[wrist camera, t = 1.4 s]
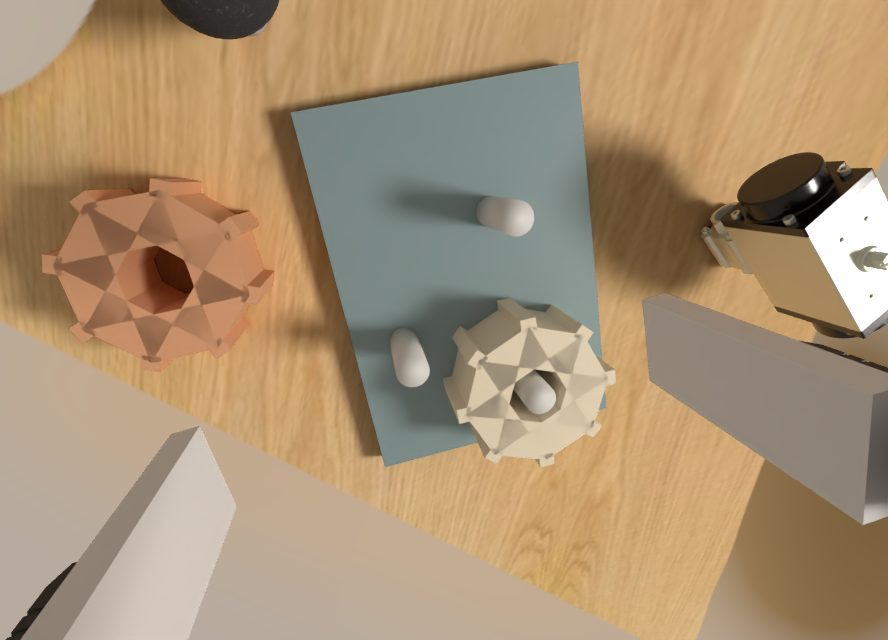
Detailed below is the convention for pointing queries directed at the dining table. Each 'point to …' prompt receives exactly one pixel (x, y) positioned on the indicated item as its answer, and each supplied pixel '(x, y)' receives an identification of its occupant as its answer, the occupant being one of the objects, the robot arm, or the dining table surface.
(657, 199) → the dining table surface
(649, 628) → the dining table surface
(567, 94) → the gear board
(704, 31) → the dining table surface
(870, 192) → the pneumatic valve
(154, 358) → the loose gear
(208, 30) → the light bulb
